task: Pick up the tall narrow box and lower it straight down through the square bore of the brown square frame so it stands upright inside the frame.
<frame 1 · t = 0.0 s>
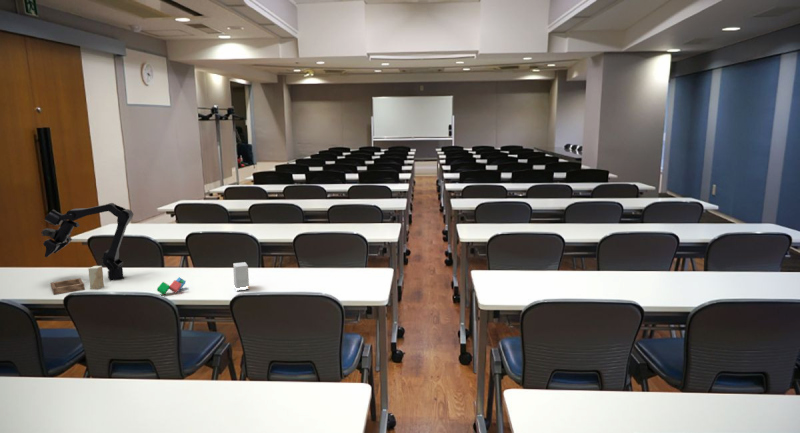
hand: (50, 254, 264), 15 cm above the table, tool tilted 35°, fingers open, 9 cm apart
building blocks: (172, 292, 250), on the table
box: (97, 288, 256), on the table
brown square frame: (67, 288, 254), on the table
small box: (241, 289, 255), on the table
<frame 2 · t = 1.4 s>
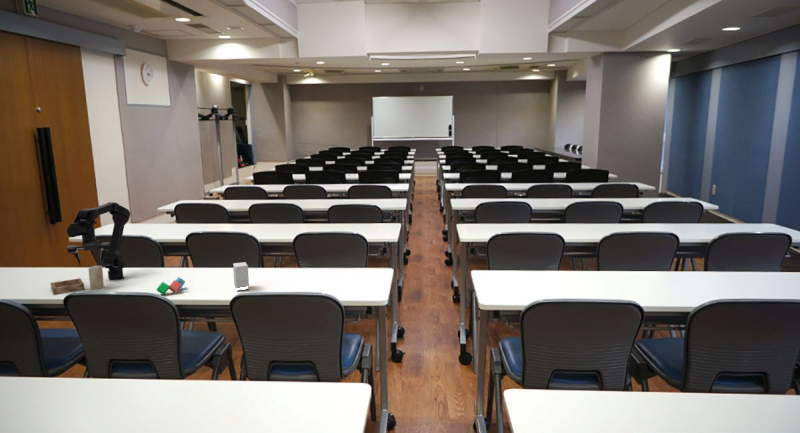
hand: (90, 263, 254), 13 cm above the table, tool pointing down, fingers open, 9 cm apart
nothing on the table moved.
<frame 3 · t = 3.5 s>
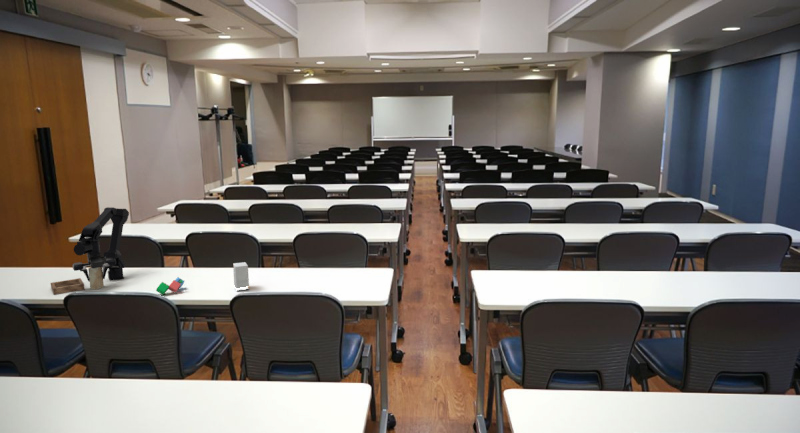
hand: (96, 280, 256), 4 cm above the table, tool pointing down, fingers closed on box, 6 cm apart
box: (97, 288, 256), on the table, touching gripper
everything else where it was.
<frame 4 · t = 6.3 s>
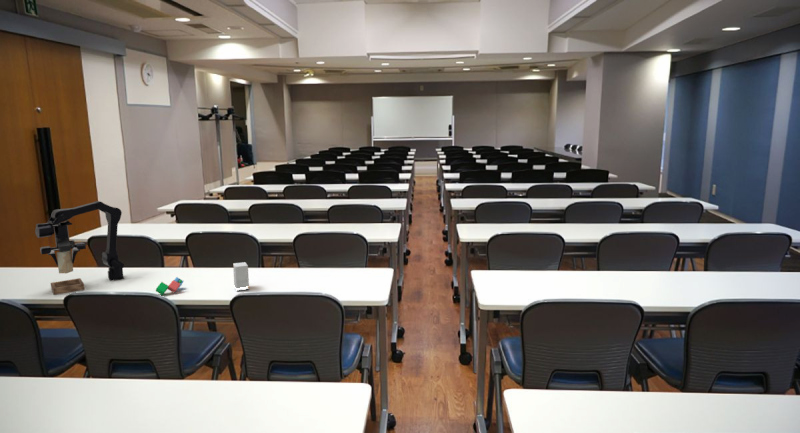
hand: (65, 264, 252), 13 cm above the table, tool pointing down, fingers closed on box, 6 cm apart
box: (66, 272, 253), point 9 cm above the table, touching gripper
everything else where it was.
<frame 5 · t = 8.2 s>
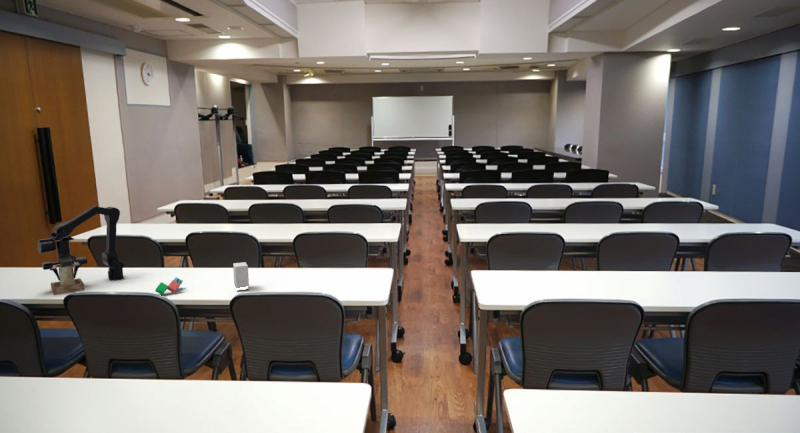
hand: (67, 279, 253), 5 cm above the table, tool pointing down, fingers closed on box, 6 cm apart
box: (68, 287, 254), point 1 cm above the table, touching gripper
when the fingers open (4 cm above the table, at t = 9.6 s): box stays where it is, resting in brown square frame.
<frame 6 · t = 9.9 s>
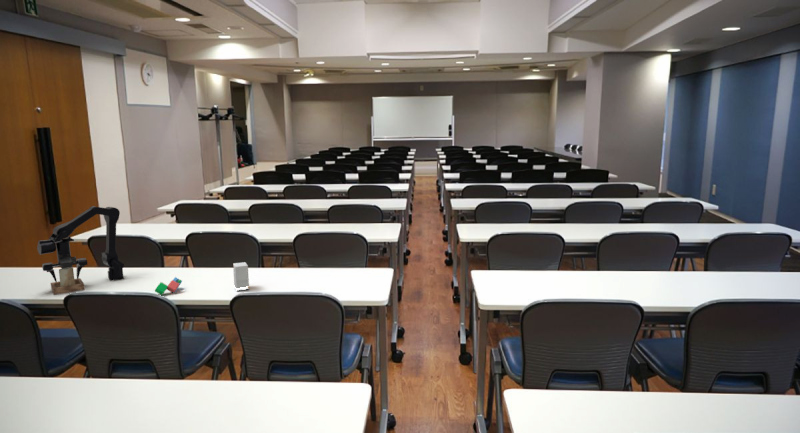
hand: (67, 280, 253), 4 cm above the table, tool pointing down, fingers open, 9 cm apart
box: (68, 289, 254), resting in brown square frame
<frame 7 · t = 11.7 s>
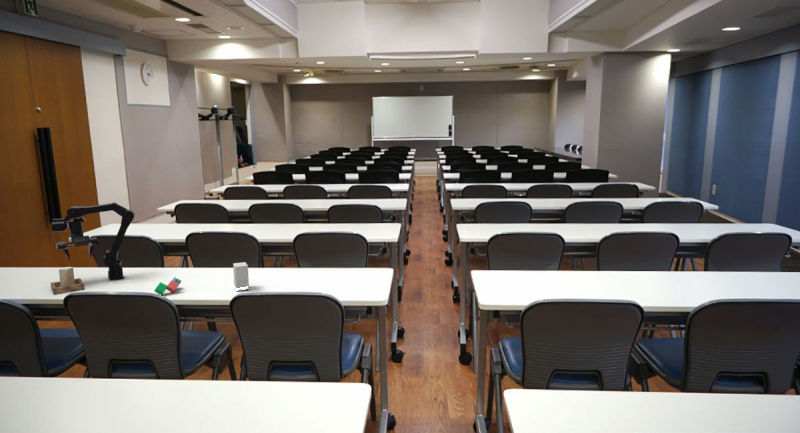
hand: (79, 259, 264), 13 cm above the table, tool pointing down, fingers open, 9 cm apart
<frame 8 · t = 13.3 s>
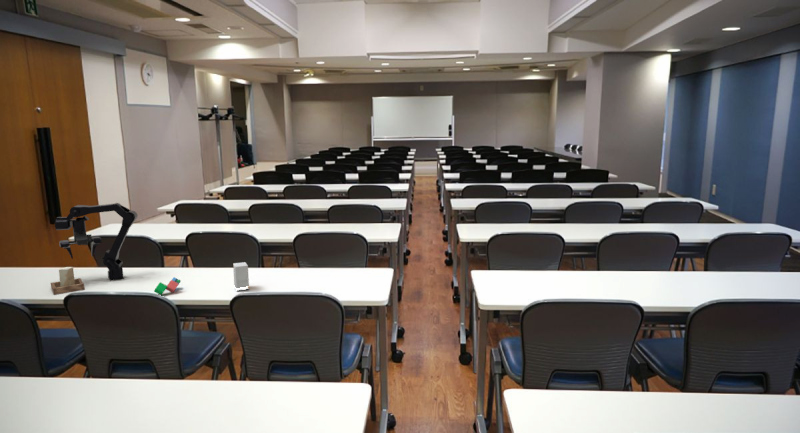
hand: (82, 257, 266), 13 cm above the table, tool pointing down, fingers open, 9 cm apart
at the end: box 0.1 cm off-centre on the brown square frame, point 0.0 cm above the brown square frame's base; box tilted 0°; the gripper is holding nothing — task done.
